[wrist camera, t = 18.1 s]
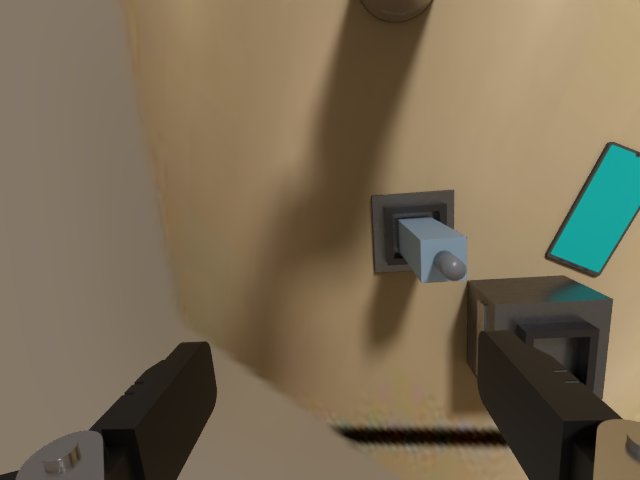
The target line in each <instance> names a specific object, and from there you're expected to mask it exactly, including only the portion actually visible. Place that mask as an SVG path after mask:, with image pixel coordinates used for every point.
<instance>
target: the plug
mask: <svg viewBox="0 0 640 480" xmlns="http://www.w3.org/2000/svg"><path fill="white" fill-rule="evenodd" d="M397 240H398V250H399V252H400V253H401V255H402V256H403V257H404V259H405V260H406V262H407V263H408V264H409V266H410V267H411V269H412V270H413V272H414V273H415V274H416V276H417V277H418V279H419V280H420V282H421V283H431V282H448V281H464V280H467V237H466V236H465V235H463V234H461V233H459V232H457V231H455V230H453V229H452V228H450V227H448V226H446V225H444V224H442V223H441V222H439V221H437V220H435V219H433V218H431V217H430V216H425V217H411V218H398V219H397Z"/></svg>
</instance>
